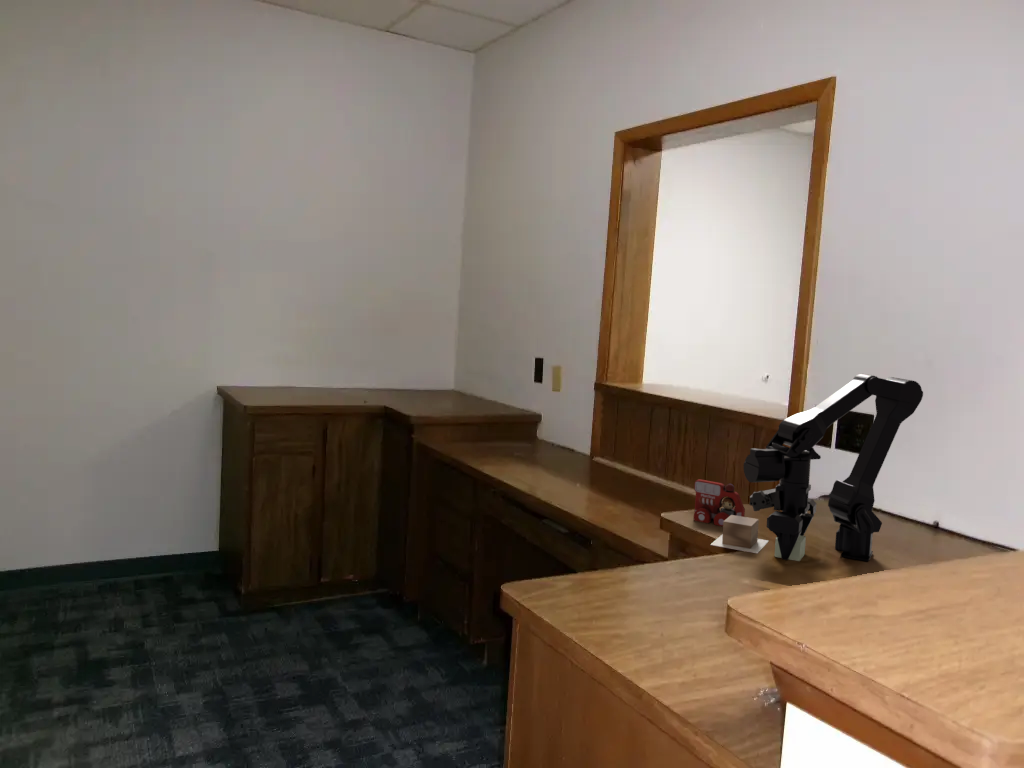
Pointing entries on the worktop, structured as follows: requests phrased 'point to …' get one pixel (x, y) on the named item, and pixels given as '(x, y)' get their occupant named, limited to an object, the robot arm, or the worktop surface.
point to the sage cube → (797, 550)
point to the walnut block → (740, 531)
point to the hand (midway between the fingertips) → (789, 553)
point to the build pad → (754, 549)
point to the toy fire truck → (716, 502)
